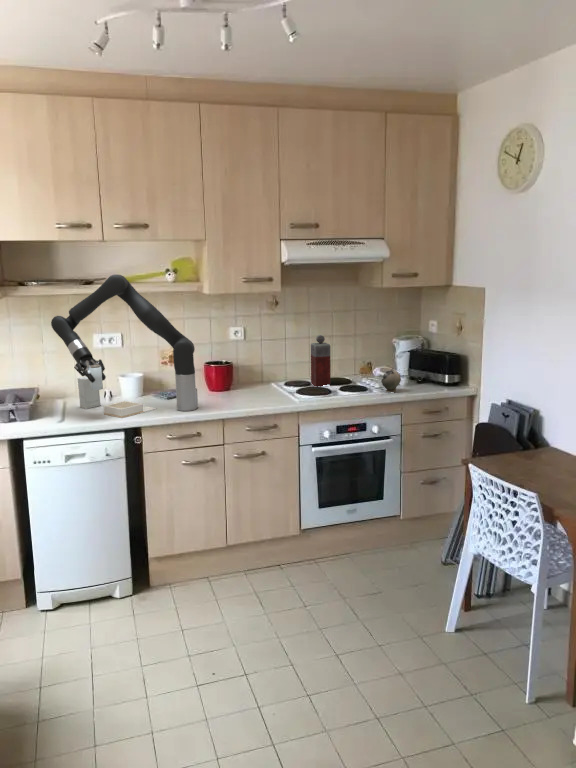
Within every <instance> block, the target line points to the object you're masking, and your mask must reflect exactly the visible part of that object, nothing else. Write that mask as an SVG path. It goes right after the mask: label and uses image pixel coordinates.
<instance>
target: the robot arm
mask: <svg viewBox="0 0 576 768" xmlns="http://www.w3.org/2000/svg"><path fill="white" fill-rule="evenodd" d="M116 296H117V297H119V298H120V299H121V300H122V301H124V302H125V304H127V306H129V308H130V309H131V310H132V312H133V314H134V315H135V317H137V318H138V320H139V321H140V322H141V323H142V324H143V325H145V327H146V328H147V329H149V330H150V331H151V332H153V333H154V334H155V335H157V336H159V337H161V338H162V339H164V340H165V342H167V343H168V344H169V346H170V347H171V348H172V349H173V350H172V351H173V352H172V356H173V368H174V376H175V377H174V378H175V394H176V395H175V397H176V409H177V411H181V412H189V411H194V410H196V409H198V408H199V402H198V401H199V399H198V388H197V387H196V368H195V362H194V361H195V359H194V353H195V351H196V350H195V348H196V347H195V345H194V342H193V341H192V340H190V339H189V338H188V337H187V336H185V335H184V334H182V333H181V332H180V331H179V330H178V329H177V328H176V327H175V326H174V325H173V324H172V323H171V322H170V321H169V319H168V318H167V317H166V316H164V314H163V313H162V312H161V311H160V310H159V309H158V308H156V307H155V306H154V305H153V304H152V303H151V302H150V301H148V299H146V298H145V297H144V296H143V295H141V294H140V293H139V292H138V291H137V290H136V288H135V287H134V286H133V285H132V284H131V283H130V281H129V280H128V279H127V278H126V277H125V276H124V275H121V274H112V275H110V276H108V277H107V279H106V280H105V281H104V282H103V283H102V284H101V285H100V286H99V287H98V288H97V289H96V290H94V292H92V293H91V294H89V295H88V296H87V297H85V298H83V299H81V301H79V302H77V304H74V306H73V307H71V308H70V309H69V310H68V314H69V315H68V316H67V317H64V316H62V315H55V316H54V317H53V318H52V319H51V321H50V322H51V323H50V325H51V328H52V330H53V331H54V332H55V334H57V336H58V337H59V338H60V339H61V341H63V343H64V344H65V346H66V347H67V349H68V351H69V354H70V355H71V356H72V357H73V360H75V362H76V363H75V365H74V370H76V371H77V373H78V374H79V375H81V377H88V379H89V380H90V382H92V383H93V382H94V381H95V379H94V377H93V376H92V374H90V370H89V367H90V365H100V366H101V369H102V382H103V381H106V377H107V376H106V375H105V373H104V371H105V370H106V368H105V365H104V363H103V360H102V359H100V358H99V359H98V360H96V359H95V358H94V357H93V354H92V352H91V351H90V349H89V348H88V346H87V345H86V344H85V342H84V341H83V339H82V338H81V337H80V335H79V334H78V333H77V332H76V331H74V330H75V329H76V328H77V326H78V325H80V322H81V321H83V320H84V319H86V318H87V317H88V316H89V315H91V314H92V313H93V312H95V311H96V310H97V309H98V308H99V307H100V306H101V305H102V304H103V303H106V301H107V300H108V301H109V300H110V299H111V298H114V297H116Z"/></svg>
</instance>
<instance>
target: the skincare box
mask: <svg viewBox="0 0 576 768" xmlns="http://www.w3.org/2000/svg"><path fill="white" fill-rule="evenodd" d="M77 386H78V387H77V389H78V397H79V406H80V408H82V409H85V410H87V409H91V408H96V407H100V406H101V396H100V390H91V384H90V380H89V379H88V377H86V376H81V377H78V378H77Z"/></svg>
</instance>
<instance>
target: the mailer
mask: <svg viewBox="0 0 576 768" xmlns="http://www.w3.org/2000/svg"><path fill="white" fill-rule="evenodd" d="M153 409H154V410H157V408H156V407H151V406H145V405H144V404H143V403H140V402H139V403H138V402H135V401H134V402H133V401H128V400H122V401H119V402H115V403H111V404H106V405H103V413H104V415H105V416H111V417H116V418H121V419H123V418H128V417H130V416H135V415H138V414H143V413H146V411H147V412H150V411H149V410H151V411H154V410H153ZM142 412H143V413H142Z"/></svg>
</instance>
